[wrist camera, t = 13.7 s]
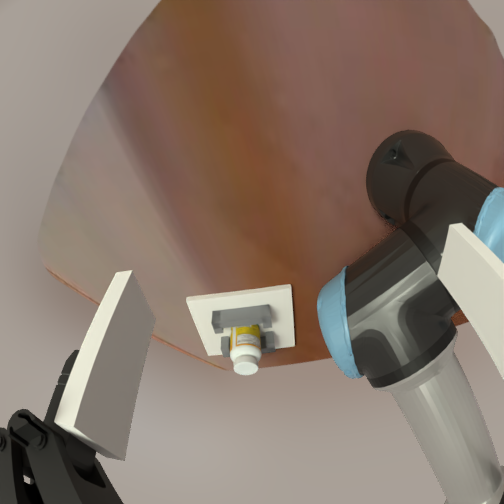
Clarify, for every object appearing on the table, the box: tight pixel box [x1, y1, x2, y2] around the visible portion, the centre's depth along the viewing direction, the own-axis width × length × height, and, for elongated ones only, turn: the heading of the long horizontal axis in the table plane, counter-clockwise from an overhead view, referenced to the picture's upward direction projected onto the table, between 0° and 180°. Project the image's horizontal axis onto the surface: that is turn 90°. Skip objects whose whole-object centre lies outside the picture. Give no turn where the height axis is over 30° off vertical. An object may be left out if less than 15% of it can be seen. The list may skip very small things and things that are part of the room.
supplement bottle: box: [230, 324, 261, 375], centre depth 48 cm, size 5×5×10 cm
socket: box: [186, 284, 295, 357], centre depth 51 cm, size 18×16×4 cm
